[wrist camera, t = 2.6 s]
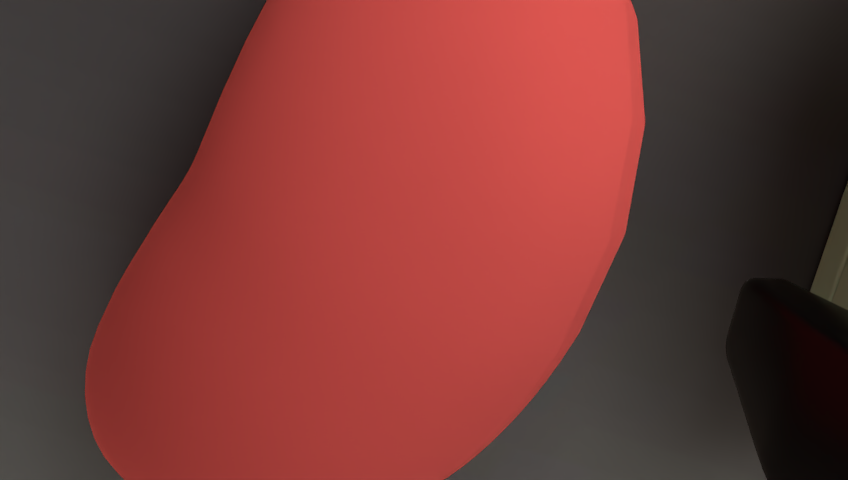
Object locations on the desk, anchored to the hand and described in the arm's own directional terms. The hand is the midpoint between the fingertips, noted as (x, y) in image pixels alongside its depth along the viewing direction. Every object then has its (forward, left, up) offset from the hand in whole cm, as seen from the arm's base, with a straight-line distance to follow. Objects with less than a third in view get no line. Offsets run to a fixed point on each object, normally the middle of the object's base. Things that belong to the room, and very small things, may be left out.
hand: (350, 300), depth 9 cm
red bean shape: (0, 0, -4) cm, 4 cm away
